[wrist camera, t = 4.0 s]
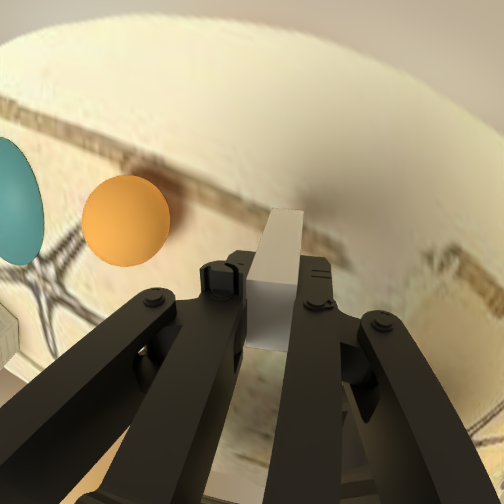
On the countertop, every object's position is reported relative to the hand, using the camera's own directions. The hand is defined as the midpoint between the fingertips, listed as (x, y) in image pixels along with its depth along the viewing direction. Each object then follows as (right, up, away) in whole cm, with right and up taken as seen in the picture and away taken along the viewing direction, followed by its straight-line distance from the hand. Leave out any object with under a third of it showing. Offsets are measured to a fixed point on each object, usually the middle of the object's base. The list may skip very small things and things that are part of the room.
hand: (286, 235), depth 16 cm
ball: (-9, +1, +3) cm, 10 cm away
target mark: (-25, +4, +7) cm, 27 cm away
